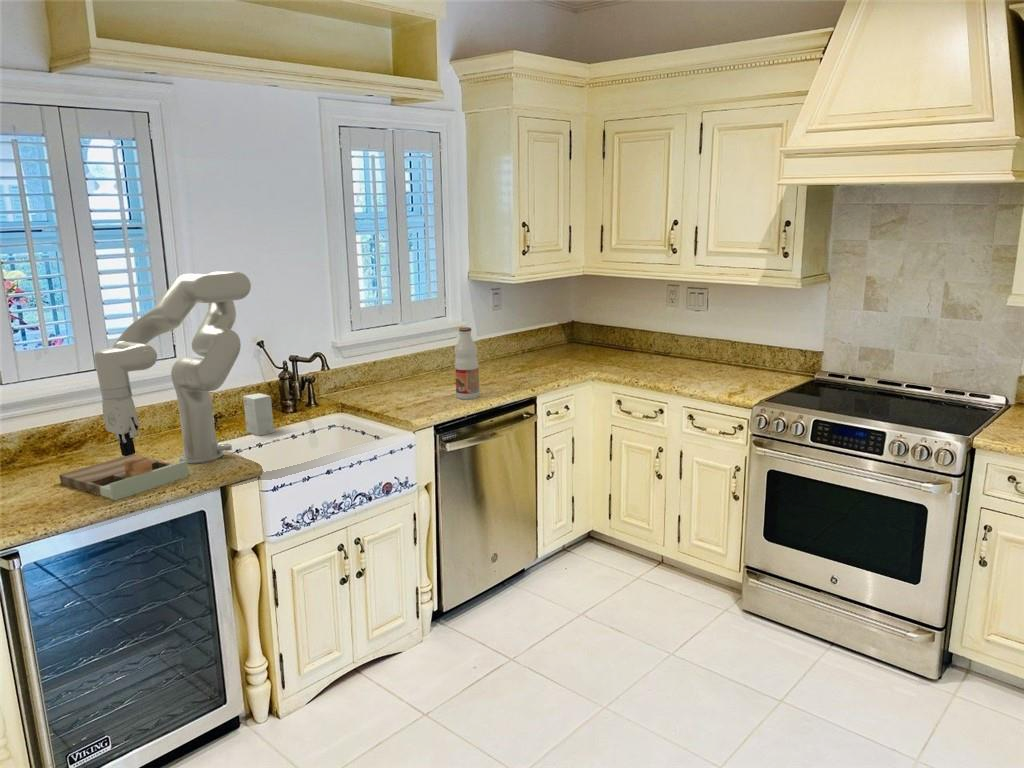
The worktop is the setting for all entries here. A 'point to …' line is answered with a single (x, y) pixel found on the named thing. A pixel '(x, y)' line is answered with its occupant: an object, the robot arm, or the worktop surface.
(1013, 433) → the worktop surface
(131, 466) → the block
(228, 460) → the worktop surface
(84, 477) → the track
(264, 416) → the small box
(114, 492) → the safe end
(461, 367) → the fruit juice
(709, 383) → the worktop surface
